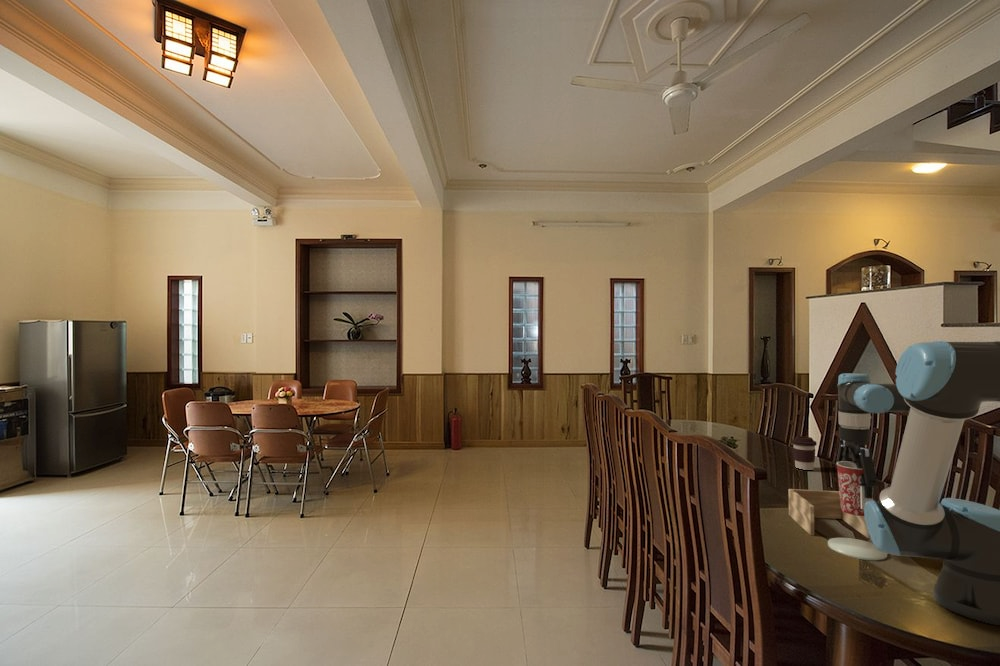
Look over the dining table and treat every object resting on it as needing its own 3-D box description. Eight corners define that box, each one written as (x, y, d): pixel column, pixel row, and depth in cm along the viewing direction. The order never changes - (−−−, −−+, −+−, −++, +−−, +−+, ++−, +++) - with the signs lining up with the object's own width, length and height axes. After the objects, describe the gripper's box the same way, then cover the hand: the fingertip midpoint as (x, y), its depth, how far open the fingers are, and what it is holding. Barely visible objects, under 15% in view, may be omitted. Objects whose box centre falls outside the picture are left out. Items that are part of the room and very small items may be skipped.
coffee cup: (796, 465, 241) (796, 434, 241) (820, 469, 233) (819, 437, 233) (788, 469, 234) (788, 437, 235) (812, 473, 227) (811, 440, 227)
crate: (872, 539, 151) (871, 509, 152) (810, 535, 155) (810, 506, 155) (843, 518, 170) (843, 491, 170) (788, 514, 173) (788, 488, 173)
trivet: (898, 562, 136) (898, 559, 136) (841, 558, 138) (841, 555, 138) (871, 542, 149) (871, 539, 149) (819, 538, 152) (819, 536, 152)
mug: (876, 520, 136) (875, 470, 136) (836, 513, 141) (835, 465, 142) (875, 507, 146) (874, 461, 147) (838, 501, 152) (837, 457, 152)
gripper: (892, 435, 132) (894, 517, 132) (848, 420, 155) (850, 490, 155) (860, 434, 133) (862, 515, 133) (822, 419, 157) (823, 489, 157)
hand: (855, 502), depth 144 cm, fingers closed on mug, 12 cm apart
